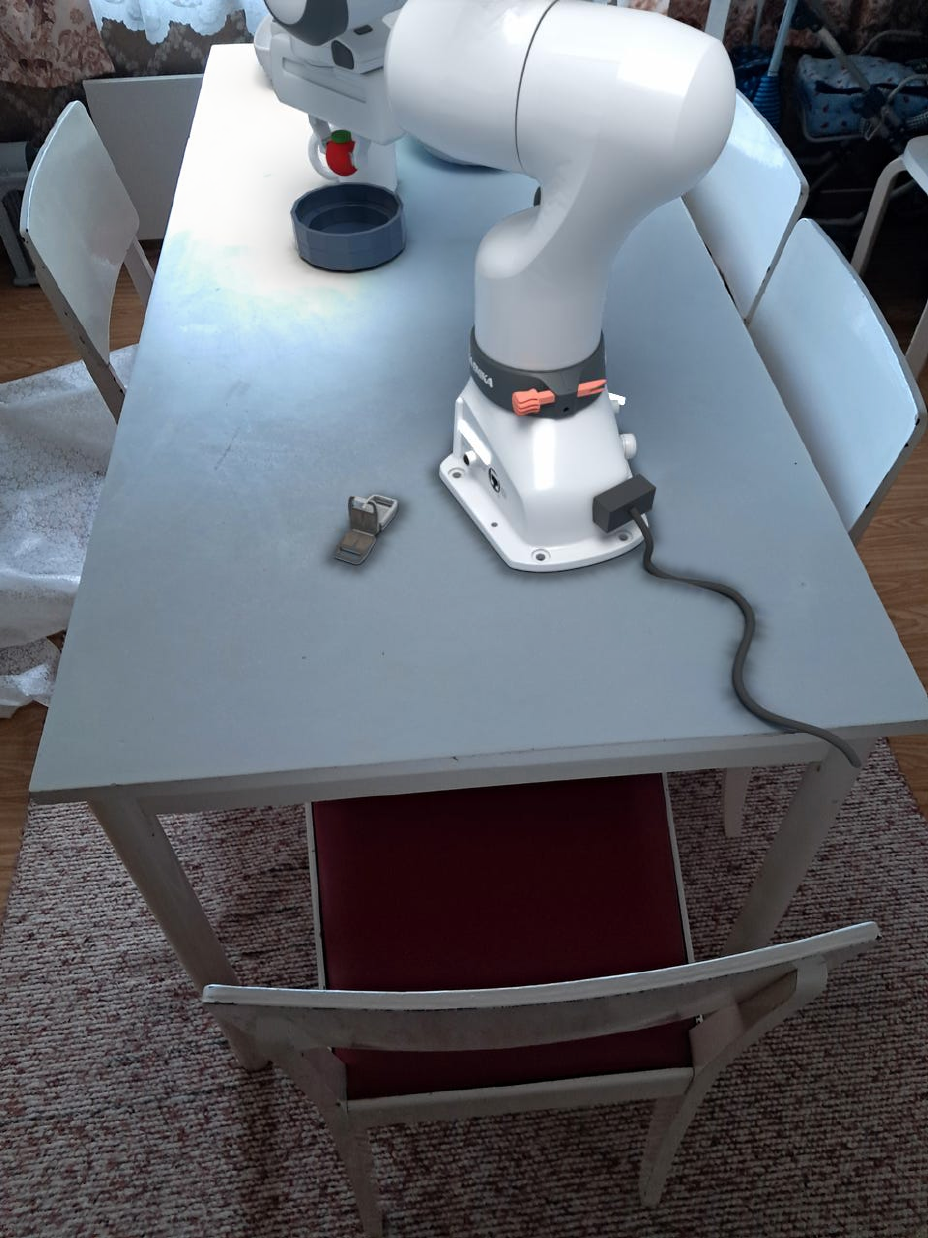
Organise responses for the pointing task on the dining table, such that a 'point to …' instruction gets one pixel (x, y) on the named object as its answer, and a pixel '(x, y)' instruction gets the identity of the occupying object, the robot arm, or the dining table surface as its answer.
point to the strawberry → (340, 153)
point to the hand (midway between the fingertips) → (344, 160)
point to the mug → (376, 172)
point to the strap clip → (365, 525)
